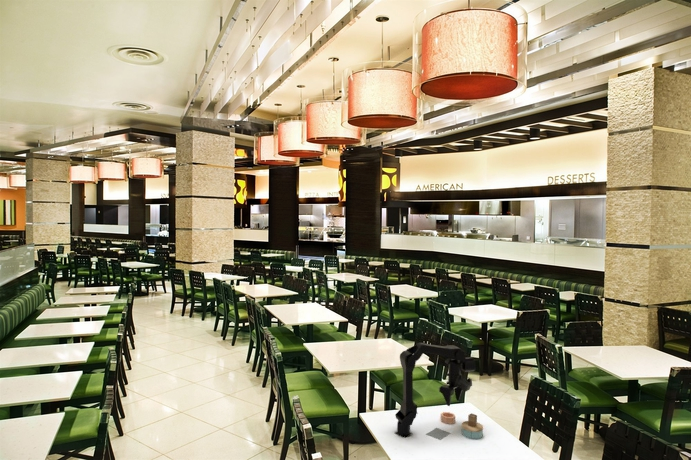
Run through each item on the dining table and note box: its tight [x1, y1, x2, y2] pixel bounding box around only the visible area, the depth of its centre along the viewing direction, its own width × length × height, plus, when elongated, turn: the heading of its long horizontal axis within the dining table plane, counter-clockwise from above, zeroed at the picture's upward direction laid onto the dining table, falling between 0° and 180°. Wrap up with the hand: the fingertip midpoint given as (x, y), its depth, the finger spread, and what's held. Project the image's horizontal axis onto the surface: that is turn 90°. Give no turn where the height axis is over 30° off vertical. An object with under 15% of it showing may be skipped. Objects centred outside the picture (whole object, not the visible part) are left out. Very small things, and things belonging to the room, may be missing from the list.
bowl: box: [461, 427, 484, 440], centre depth 223 cm, size 9×9×4 cm
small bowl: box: [439, 411, 456, 425], centre depth 237 cm, size 7×7×4 cm
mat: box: [425, 427, 452, 441], centre depth 223 cm, size 10×8×1 cm
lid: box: [461, 413, 484, 432], centre depth 222 cm, size 10×10×6 cm
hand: (453, 403), depth 228 cm, fingers open, 9 cm apart
